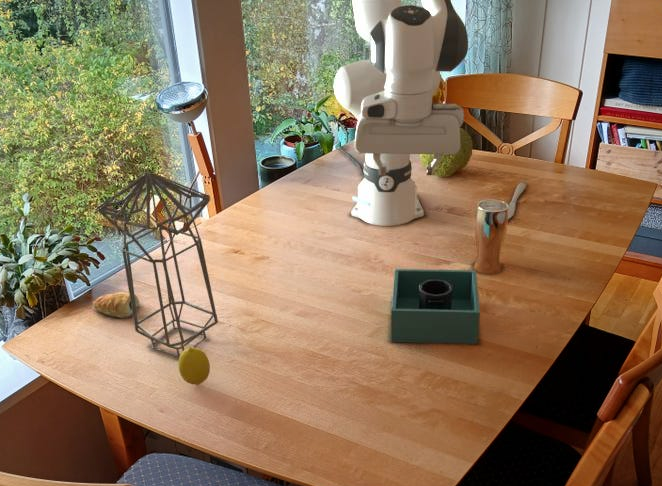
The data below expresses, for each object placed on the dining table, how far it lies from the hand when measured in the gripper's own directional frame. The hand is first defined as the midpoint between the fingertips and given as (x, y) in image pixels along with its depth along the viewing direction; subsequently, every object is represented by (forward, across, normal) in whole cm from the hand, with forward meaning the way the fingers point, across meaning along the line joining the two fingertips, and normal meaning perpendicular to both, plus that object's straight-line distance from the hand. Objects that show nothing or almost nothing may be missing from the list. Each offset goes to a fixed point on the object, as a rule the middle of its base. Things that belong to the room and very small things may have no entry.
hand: (406, 174), depth 146 cm
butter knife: (+27, -28, -46) cm, 60 cm away
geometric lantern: (+26, +44, +24) cm, 56 cm away
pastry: (+27, +60, +12) cm, 67 cm away
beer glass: (+26, -19, -10) cm, 34 cm away
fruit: (+28, -10, -68) cm, 74 cm away
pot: (+25, -7, +13) cm, 29 cm away
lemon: (+26, +37, +37) cm, 58 cm away
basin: (+26, -7, +13) cm, 30 cm away
